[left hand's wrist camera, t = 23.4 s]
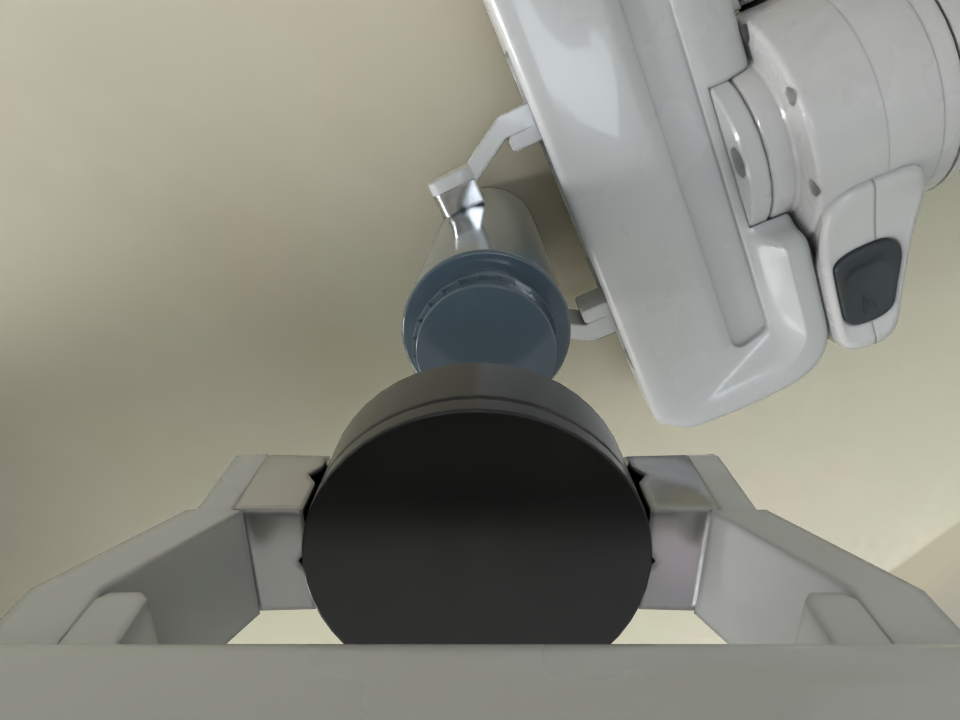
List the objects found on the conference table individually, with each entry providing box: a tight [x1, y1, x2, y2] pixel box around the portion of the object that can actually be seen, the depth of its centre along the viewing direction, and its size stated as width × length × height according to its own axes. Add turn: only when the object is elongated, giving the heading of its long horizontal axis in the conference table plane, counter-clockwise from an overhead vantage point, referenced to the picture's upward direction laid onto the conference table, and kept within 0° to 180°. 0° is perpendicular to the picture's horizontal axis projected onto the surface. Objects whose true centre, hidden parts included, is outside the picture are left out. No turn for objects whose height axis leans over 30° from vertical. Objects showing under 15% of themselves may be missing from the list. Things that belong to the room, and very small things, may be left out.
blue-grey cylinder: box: [402, 187, 571, 379], centre depth 23 cm, size 5×5×16 cm
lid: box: [302, 362, 653, 644], centre depth 9 cm, size 5×5×2 cm
